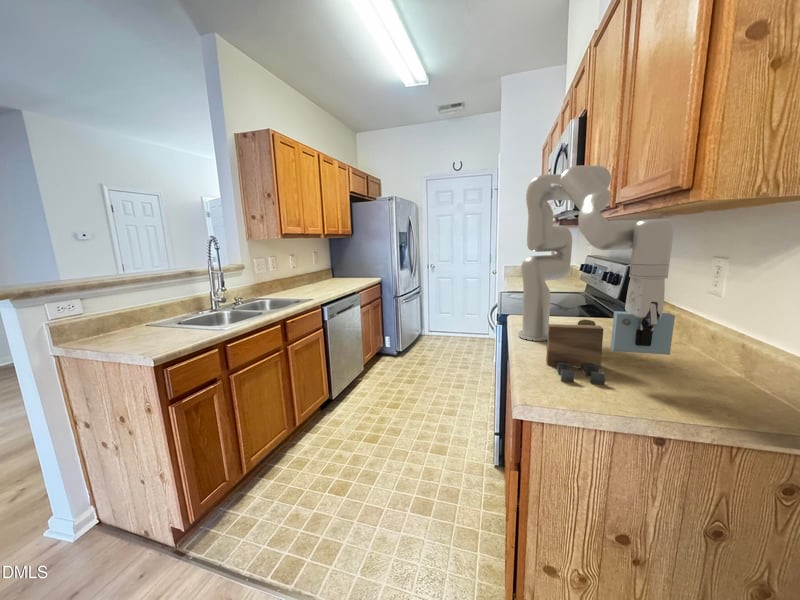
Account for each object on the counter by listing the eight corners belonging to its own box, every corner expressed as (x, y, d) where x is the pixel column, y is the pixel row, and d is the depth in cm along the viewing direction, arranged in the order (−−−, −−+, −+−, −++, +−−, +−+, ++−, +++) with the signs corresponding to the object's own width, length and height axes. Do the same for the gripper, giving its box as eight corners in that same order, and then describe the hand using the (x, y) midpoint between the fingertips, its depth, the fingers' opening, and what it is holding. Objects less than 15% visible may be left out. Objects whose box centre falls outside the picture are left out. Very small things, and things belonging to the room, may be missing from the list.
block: (610, 348, 85) (614, 311, 83) (665, 351, 81) (670, 313, 79) (615, 352, 81) (618, 314, 80) (672, 356, 78) (677, 316, 76)
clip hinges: (555, 365, 96) (555, 356, 96) (592, 368, 93) (593, 358, 93) (561, 381, 86) (561, 370, 85) (604, 384, 83) (605, 373, 82)
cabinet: (546, 361, 100) (547, 323, 98) (597, 364, 96) (599, 325, 94) (547, 365, 97) (549, 326, 95) (600, 368, 93) (603, 328, 91)
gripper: (619, 268, 87) (613, 333, 90) (643, 275, 72) (635, 353, 75) (652, 268, 84) (644, 335, 88) (684, 275, 69) (673, 355, 73)
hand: (640, 342), depth 81 cm, fingers closed on block, 2 cm apart
